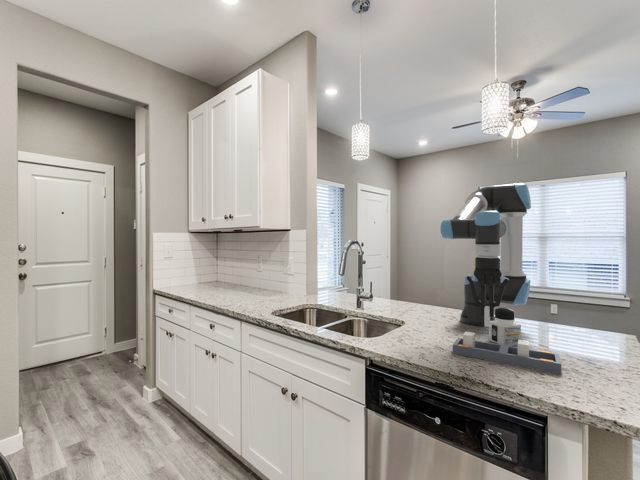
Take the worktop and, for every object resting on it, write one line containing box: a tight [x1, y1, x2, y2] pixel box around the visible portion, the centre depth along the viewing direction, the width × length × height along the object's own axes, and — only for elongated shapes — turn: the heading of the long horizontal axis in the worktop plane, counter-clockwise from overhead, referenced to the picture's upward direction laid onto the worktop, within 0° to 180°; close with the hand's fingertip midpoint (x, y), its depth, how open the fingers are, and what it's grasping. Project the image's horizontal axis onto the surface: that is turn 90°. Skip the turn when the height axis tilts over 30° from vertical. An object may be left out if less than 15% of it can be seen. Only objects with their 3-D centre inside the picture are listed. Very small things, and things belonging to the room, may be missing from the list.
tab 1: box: [462, 331, 476, 347], centre depth 112 cm, size 5×3×5 cm, turn 146°
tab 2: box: [517, 339, 530, 357], centre depth 103 cm, size 5×3×5 cm, turn 146°
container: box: [488, 307, 522, 347], centre depth 122 cm, size 8×8×13 cm
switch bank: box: [452, 337, 562, 375], centre depth 106 cm, size 10×30×3 cm, turn 56°
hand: (487, 325), depth 109 cm, fingers closed
